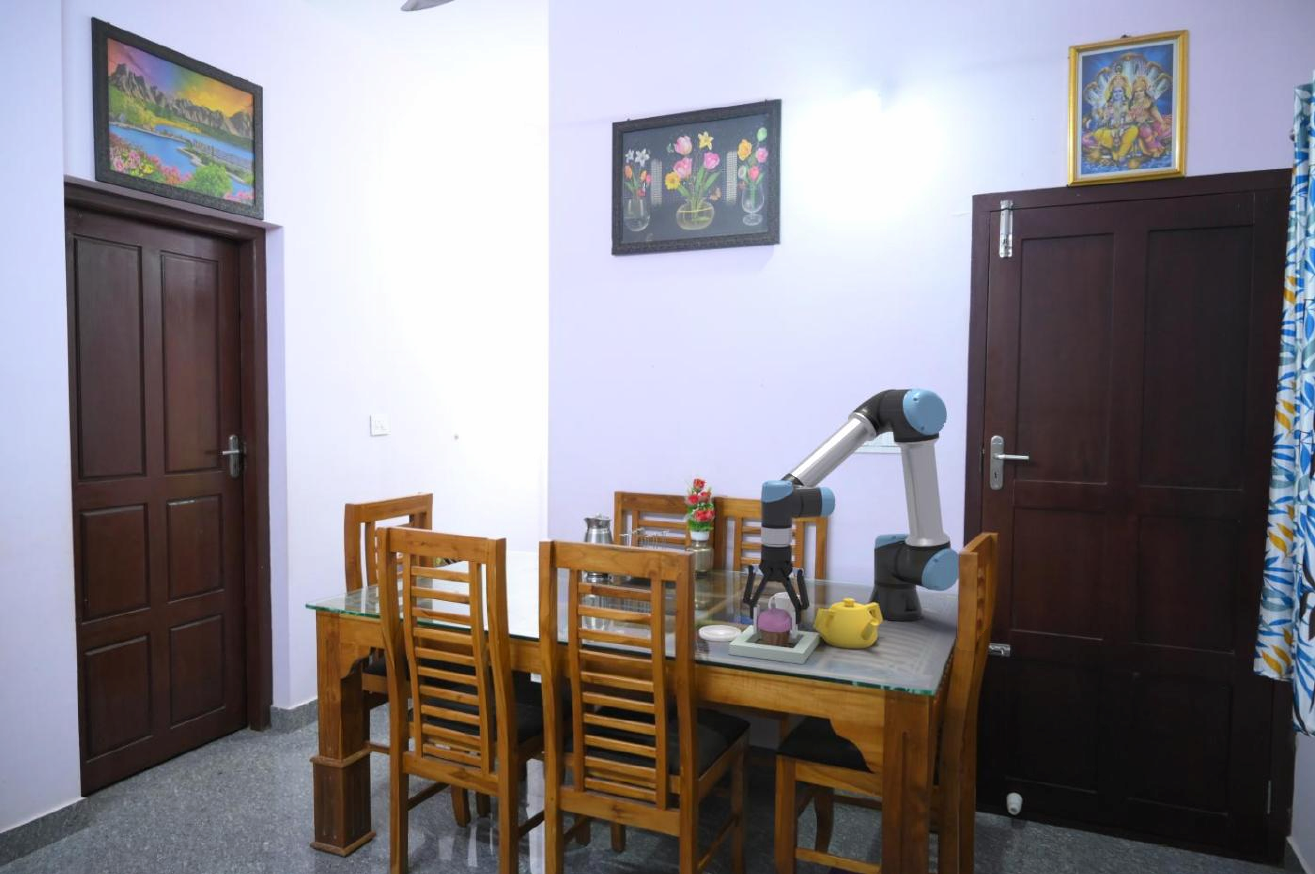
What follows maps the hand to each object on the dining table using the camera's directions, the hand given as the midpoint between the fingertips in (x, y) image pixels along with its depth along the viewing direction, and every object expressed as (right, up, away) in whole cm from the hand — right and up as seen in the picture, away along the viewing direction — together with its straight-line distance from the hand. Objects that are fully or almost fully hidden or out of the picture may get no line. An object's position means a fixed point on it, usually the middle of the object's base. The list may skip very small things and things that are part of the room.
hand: (775, 634), depth 202 cm
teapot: (+20, -4, +5) cm, 21 cm away
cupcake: (0, -4, 0) cm, 4 cm away
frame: (0, -3, 0) cm, 3 cm away
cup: (+5, -3, +23) cm, 24 cm away
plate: (-13, -3, +11) cm, 17 cm away
